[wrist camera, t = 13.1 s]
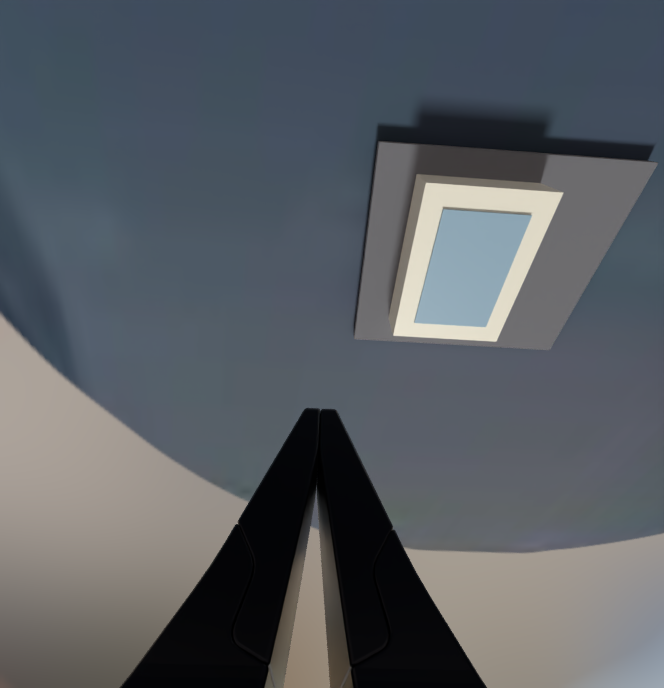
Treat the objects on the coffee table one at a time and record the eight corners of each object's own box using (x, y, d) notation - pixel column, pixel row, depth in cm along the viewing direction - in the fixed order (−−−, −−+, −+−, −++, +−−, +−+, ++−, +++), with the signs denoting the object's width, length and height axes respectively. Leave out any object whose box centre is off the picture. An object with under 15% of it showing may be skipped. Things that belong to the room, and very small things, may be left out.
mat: (648, 160, 16) (658, 162, 15) (544, 344, 22) (549, 350, 22) (378, 140, 15) (379, 142, 15) (353, 333, 22) (354, 339, 21)
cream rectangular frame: (497, 342, 19) (393, 336, 19) (483, 322, 21) (388, 317, 20) (565, 192, 14) (426, 183, 14) (540, 183, 16) (416, 174, 16)
